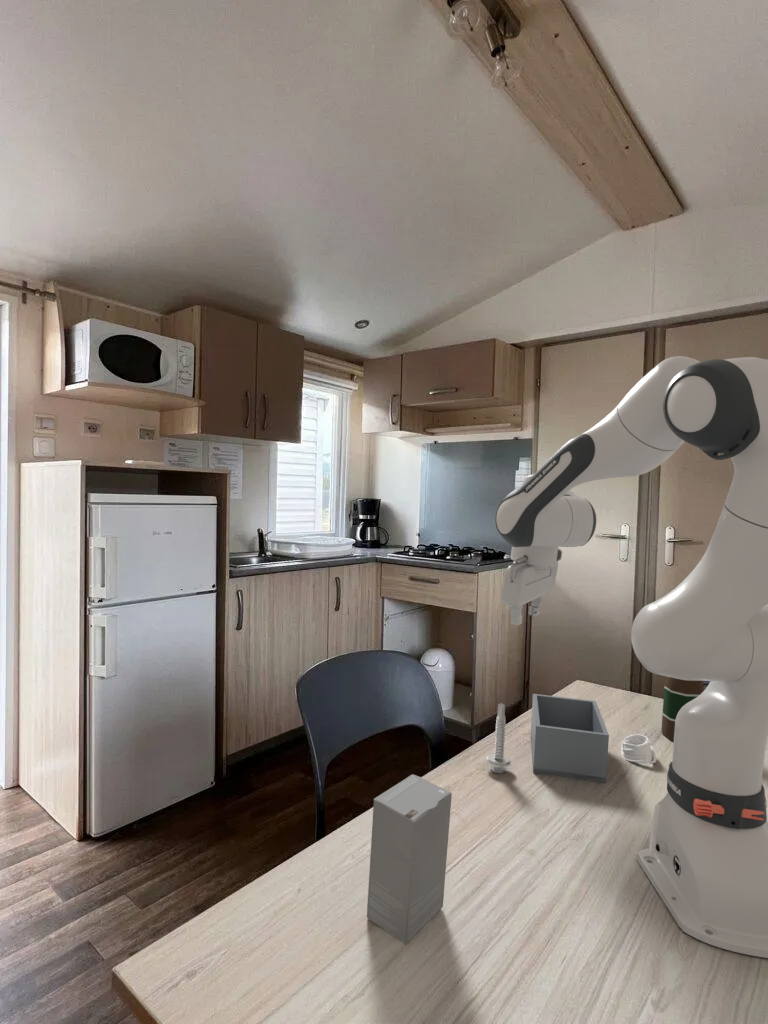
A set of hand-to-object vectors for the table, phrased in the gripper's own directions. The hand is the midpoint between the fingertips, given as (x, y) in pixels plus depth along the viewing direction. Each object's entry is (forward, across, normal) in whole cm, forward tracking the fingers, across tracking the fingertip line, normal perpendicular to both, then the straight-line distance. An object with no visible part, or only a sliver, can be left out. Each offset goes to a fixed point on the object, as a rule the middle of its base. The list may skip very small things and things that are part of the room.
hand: (525, 619), depth 121 cm
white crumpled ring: (+26, +11, -23) cm, 36 cm away
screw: (+26, -13, -3) cm, 29 cm away
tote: (+26, +1, -11) cm, 28 cm away
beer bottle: (+26, +28, -29) cm, 47 cm away
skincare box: (+24, -56, -10) cm, 61 cm away
